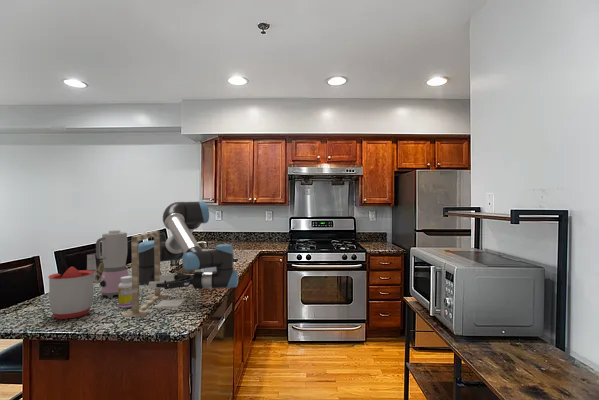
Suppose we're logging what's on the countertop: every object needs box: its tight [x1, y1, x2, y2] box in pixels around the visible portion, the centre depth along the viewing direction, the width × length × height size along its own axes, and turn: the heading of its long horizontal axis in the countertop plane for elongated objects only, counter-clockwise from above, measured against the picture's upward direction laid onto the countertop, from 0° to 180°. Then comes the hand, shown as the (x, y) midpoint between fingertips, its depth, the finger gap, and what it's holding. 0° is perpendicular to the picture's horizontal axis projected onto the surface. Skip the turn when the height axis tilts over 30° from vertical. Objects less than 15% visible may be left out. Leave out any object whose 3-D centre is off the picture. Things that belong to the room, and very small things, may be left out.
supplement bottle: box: [117, 275, 132, 309], centre depth 154 cm, size 7×7×13 cm
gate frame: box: [121, 230, 169, 318], centre depth 154 cm, size 30×9×32 cm, turn 4°
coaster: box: [154, 298, 186, 309], centre depth 155 cm, size 10×10×1 cm
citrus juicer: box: [48, 266, 94, 320], centre depth 142 cm, size 16×17×20 cm
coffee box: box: [86, 252, 104, 283], centre depth 205 cm, size 9×6×16 cm
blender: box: [95, 229, 130, 299], centre depth 172 cm, size 16×12×32 cm
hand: (154, 281), depth 154 cm, fingers open, 13 cm apart
